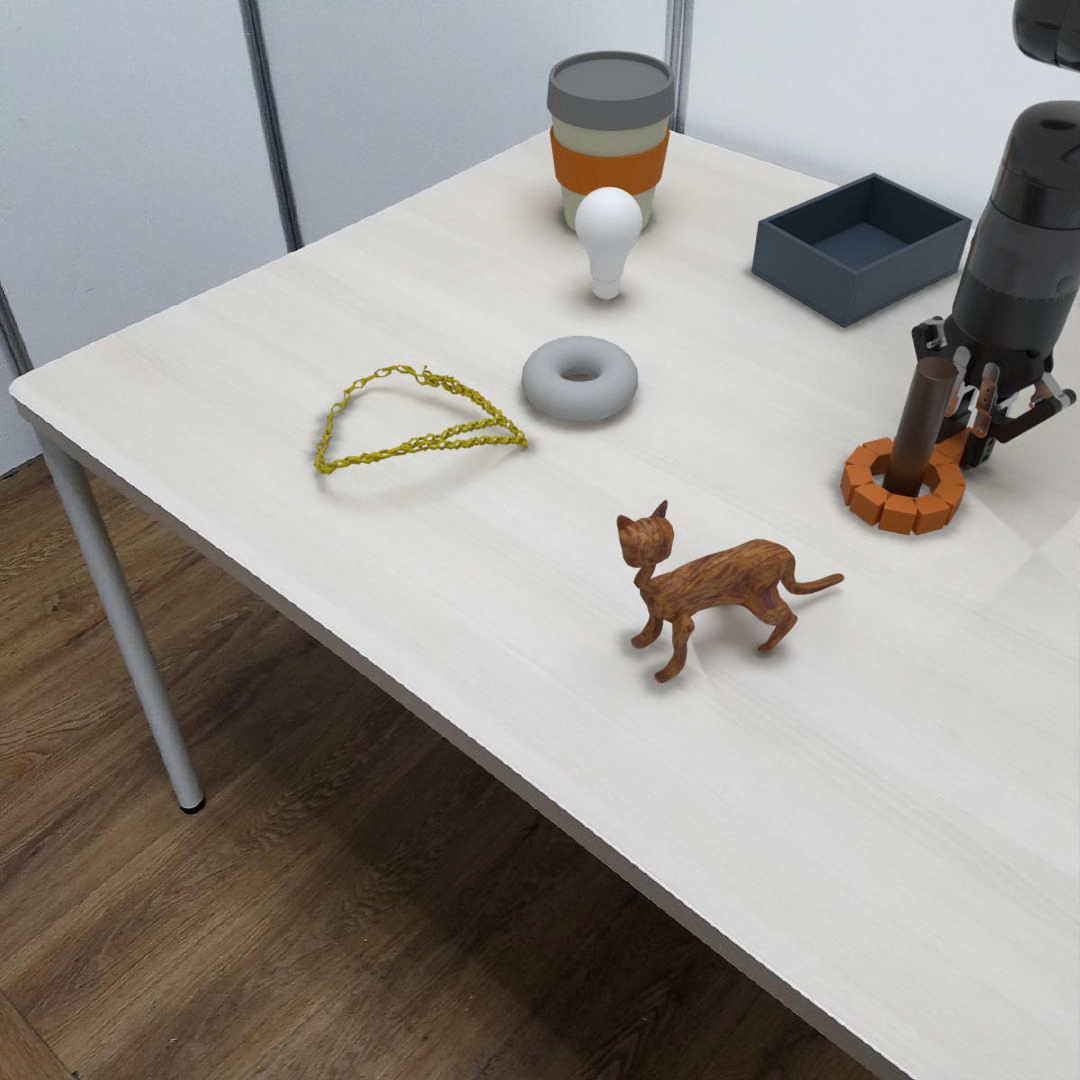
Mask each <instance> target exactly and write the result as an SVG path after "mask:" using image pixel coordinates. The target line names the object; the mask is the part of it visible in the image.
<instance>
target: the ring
mask: <svg viewBox="0 0 1080 1080" xmlns="http://www.w3.org/2000/svg"><path fill="white" fill-rule="evenodd" d="M972 430H973V427H971V426H970V425H969V426H968V425H967V428H966V429H964V430H962V431H961V432H959V433H957V434H956V435H954V436H952V437H951V438H949V439H946V440H945V441H943V442H941V443H940V444H938V445H937V444H935V446H934V449H933V452H932V455H931V458H930V461H929V465H928V468H927V471H926V474H925V477H924V480H923V483H922V485H924V486H926V487H927V488H928V490H929V492H930V493H928V494H923V495H920V496H918V497H916V498H911V497H906V496H901V495H896V494H891V493H889V492H888V491H887V490H885V489H884V488H882V487H881V486H882V485H880V484H879V483H876V482H875V480H874V477H876V476H877V477H878V476H880V475H885V472H886V469H887V465H888V462H889V458H890V455H891V452H892V448H893V445H894V441H895V438H896V436H894V437H893V441H892V439H891V438H890V437H889V436H887V437H882V438H877V439H874V440H869V441H865V442H862V445H857V446H856V448H855V449H854V450H853V451H852V453H851V454H850V455H849V456H848V458H847V459H846V460H845V463H844V467H843V472H842V475H841V479H840V484H839V487H840V490H841V494H842V498H843V500H844V503H845V506H846V507H849V509H848V510H849V511H850V512H852V513H853V514H854V515H856V516H857V517H858V518H859V519H861V520H862V521H863V522H865V523H866V524H867V525H869V526H871V527H874V526H876V525H877V524H878V525H877V529H878V530H879V531H884V532H888V533H894V534H899V535H903V536H908V537H909V536H911V534H912V533H913V534H914V536H919V535H924V534H928V533H932V532H935V531H939V530H942V529H944V526H946V527H948V526H949V524H950V522H951V521H952V519H953V518H954V516H955V515H956V513H957V512H958V510H959V508H960V505H961V502H962V501H963V496H964V494H965V491H966V485H967V483H966V480H965V478H964V475H963V473H962V471H961V468H960V467H959V462H960V460H961V457H962V454H963V451H964V446H965V443H966V440H967V437H968V435H969V432H970V431H972ZM911 532H912V533H911Z"/></svg>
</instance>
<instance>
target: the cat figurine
mask: <svg viewBox="0 0 1080 1080" xmlns="http://www.w3.org/2000/svg"><path fill="white" fill-rule="evenodd" d="M668 505H669V503H668V500H667V499H664V500H663V501H661V503H660V504H659V505H658V506H657V507H656V508H655V509H654V511H653V512H652V514H651V515H650V516H648V517H640V518H639V519H636V520H632V519H631V518H630V517H629V516H627V515H624V514H618V516H617V518H616V528H617V532H618V540H619V544H620V549H621V553H622V558H623V560H624V562H625V563H626V565H627V566H628V567H630V568H632V569H639V570H638V571H637V572H636V574H635V576H634V579H633V582H632V583H633V584H634V585H635V587H636V588H637V589H639V596H640V598H641V599H642V600H643V602H644V604H645V606H646V608H647V611H648V615H649V616H648V620H647V622H646V624H645V626H644V627H643V628H642V630H641V632H640V633H638V634H637V635H635V636H634V637H631V639H630V643H631V645H632V647H634V648H635V649H644V648H646V647H648V646H650V645H651V644H653V643H654V642H655V641H657V639H658V638H659V637H660V636H661V634H662V631H663V628H664V621H666V622H668V623H670V624H671V634H672V635H671V643H672V648H673V653H672V656H671V657H670V659H669V661H668V662H667V664H666V665H665V667H664V668H662V669H661V670H659V671H656V672H655V673H654V674H653V676H654V680H655V681H656V682H658V683H660V684H665V683H666V682H668V681H670V680H672V679H673V678H675V677H676V676H678V675H679V674H680V672H682V670H683V669H684V667H685V665H686V662H687V657H688V641H689V639H690V637H691V636H692V634H693V632H694V631H695V630H696V625H695V622H694V620H693V618H692V617H693V616H694V615H696V614H697V613H698V612H701V611H705V610H708V609H712V608H716V607H723V606H724V607H725V606H741V607H743V608H745V609H746V610H748V611H749V612H750V613H752V614H753V616H755V617H756V618H757V619H758V620H759V621H760V622H761V623H763V624H765V625H770V626H773V627H775V628H774V629H773V630H772V632H771V633H770V635H769V637H768V639H767V641H766V642H764V643H761V644H760V645H759V646H758V647H757V650H756V651H757V652H758V653H767V652H770V651H772V650H774V649H775V648H776V646H777V645H779V643H780V642H781V641H782V640H783V639H784V638H785V637H786V636H787V635H788V634H789V632H790V631H792V629H793V628H794V626H795V625H796V624H797V622H798V616H797V615H796V614H795V613H794V612H793V611H792V610H791V607H790V606H789V605H788V603H787V602H786V601H785V600H784V599H783V597H781V594H780V592H779V589H778V585H779V583H781V586H782V587H784V589H785V590H786V591H787V592H788V593H790V594H791V595H795V596H806V595H812V594H814V593H818V592H821V591H824V590H826V589H828V588H831V587H834V586H836V585H838V584H840V583H842V582H843V581H844V580H845V578H846V577H845V576H844V574H843V573H839V572H838V573H833V574H830V575H826V576H824V577H821V578H818V579H815V580H812V581H806V582H799V581H797V580H796V575H795V573H796V572H795V571H796V564H797V561H796V557H795V555H794V554H793V553H792V552H791V550H790V549H788V548H787V547H786V546H784V545H782V544H780V543H777V542H775V541H772V540H768V539H765V538H755V539H750V540H748V541H745V542H744V543H741V544H738V545H736V546H734V547H731V548H728V549H725V550H721V551H718V552H717V551H716V552H714V553H711V554H706V555H704V556H701V557H698V558H695V559H693V560H691V561H689V562H686V563H684V564H683V565H680V566H679V567H677V568H675V569H673V570H672V571H668V572H665V573H661V574H659V575H656V576H653V575H654V573H655V571H656V568H657V564H660V563H662V562H664V561H665V560H667V559H669V558H670V556H671V554H672V548H673V543H674V537H675V530H674V527H673V525H672V523H671V522H670V521H669V520H668V519H667V517H666V515H667V510H668V507H669V506H668Z"/></svg>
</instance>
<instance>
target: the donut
mask: <svg viewBox="0 0 1080 1080" xmlns="http://www.w3.org/2000/svg"><path fill="white" fill-rule="evenodd" d="M575 375H576V376H577V375H579V376H581V375H583V376H589V377H593V378H594V379H592V380H587V381H573V380H569V379H566V377H571V376H575ZM520 381H521V382H520V384H521V388H522V390H523V392H524V394H525V397H526V399H527V400H528V402H529V403H531V404H532V405H533V407H535V408H536V409H537V410H538V411H539V412H541V413H543V414H545V415H547V416H549V417H551V418H553V419H556V420H560V421H564V422H570V423H591V422H595V421H601V420H604V419H606V418H609V417H611V416H613V415H615V414H618V413H619V412H621V411H622V410H623V409H624V408H625V407H627V406H628V405H630V403H631V401H632V400H633V398H634V396H635V394H636V392H637V390H638V386H639V372H638V368H637V366H636V364H635V362H634V361H633V358H632V357H631V355H630V354H629V353H628V352H627V351H625V350H624V349H622V348H621V347H620V346H619V345H617V343H616V344H615V343H614V342H611V341H609V340H607V339H604V338H600V337H595V336H591V335H569V336H565V337H559V338H556V339H553V340H551V341H548V342H546V343H544V344H542V345H541V346H539V347H538V348H536V350H534V351H533V352H532V353H530V355H529V356H528V358H527V360H526V361H525V363H524V365H523V366H522V371H521V380H520Z"/></svg>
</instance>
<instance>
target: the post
mask: <svg viewBox="0 0 1080 1080" xmlns="http://www.w3.org/2000/svg"><path fill="white" fill-rule="evenodd" d="M957 375H958V369H957V367H956V366H955V365H954V364H953V363H952V362H951V361H949V360H946V359H944V358H940V357H926V358H923V359H921V360H920V361H919V362H917V363H916V365H915V369H914V372H913V375H912V379H911V383H910V386H909V389H908V393H907V395H906V400H905V402H904V407H903V410H902V414H901V417H900V421H899V424H898V428H897V431H896V433H895V437H896V438H895V441H894V445H893V448H892V452H891V455H890V458H889V462H888V465H887V469H886V472H885V474H884V476H883V479H882V483H881V485H880V486H881V487H882V488H884V489H885V490H887V491H888V492H889V493H891V494H896V495H901V496H906V497H911V498H916V497H919V495H920V493H921V492H920V491H921V489H922V485H923V480H924V477H925V474H926V471H927V468H928V465H929V461H930V458H931V455H932V452H933V449H934V447H935V446H936V440H937V437H938V434H939V431H940V428H941V424H942V421H943V418H944V415H945V412H946V409H947V406H948V403H949V400H950V397H951V394H952V391H953V387H954V384H955V381H956V378H957Z"/></svg>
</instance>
